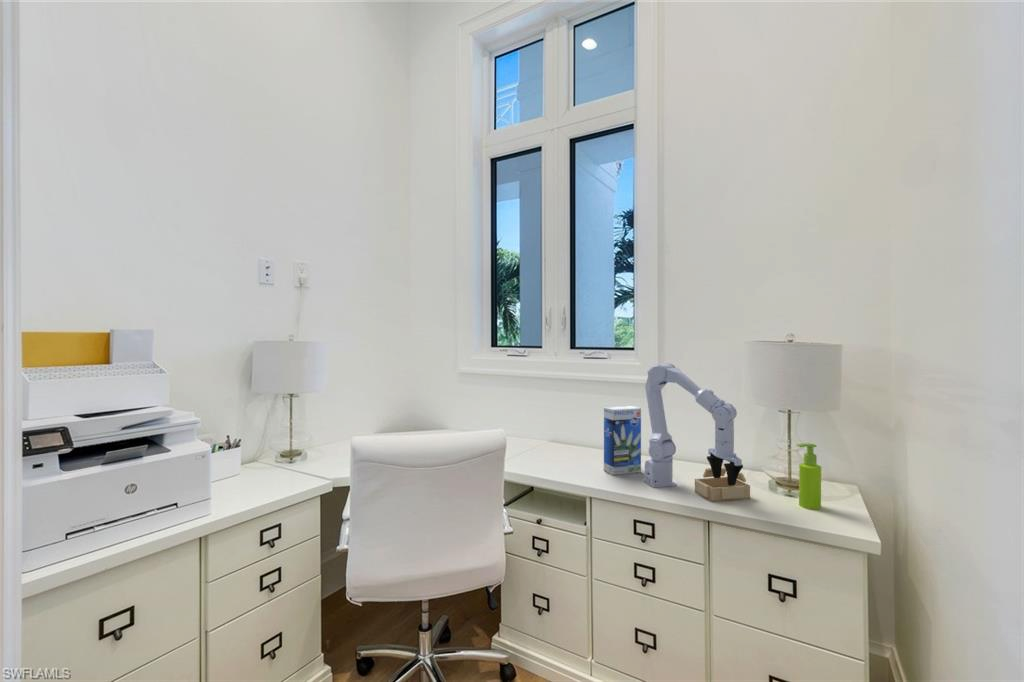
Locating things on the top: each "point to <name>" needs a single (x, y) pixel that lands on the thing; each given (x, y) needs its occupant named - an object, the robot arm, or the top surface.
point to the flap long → (709, 473)
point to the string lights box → (622, 439)
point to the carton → (721, 489)
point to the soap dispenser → (809, 480)
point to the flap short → (741, 477)
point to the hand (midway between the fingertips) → (724, 481)
